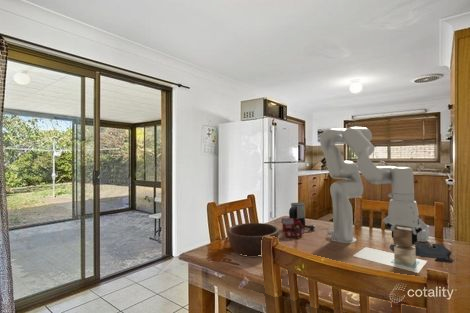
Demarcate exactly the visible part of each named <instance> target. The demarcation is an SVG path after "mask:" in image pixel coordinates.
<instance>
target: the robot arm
mask: <svg viewBox="0 0 470 313" xmlns="http://www.w3.org/2000/svg"><path fill="white" fill-rule="evenodd" d="M372 139H373V135H372V132H371V130H370V129H369V128H367V127H364V126H363V127H362V126H350V127H347V128H340V127H339V128H338V127H337V128H336V127H335V128H334V127H333V128H327V129H325V130H324V131H323V132H321V135H320V140H319V141H320V142H319V143H320V147H321V151H322V152H323V155H324V159H325V163H326V166H327V170H328V174H329V176H330V177H331V178H332V179H335V180H337V181H334V182H333V183H331V185H330V188H329V191H330V192H329V193H330V196H331V201H332V219H333V222H332V223H333V224H332V225H333V227H332V228H333V230H332V229H327V230H326V233H327V235H331V237H330V240H331V241H332V242H338V243H344V244H350V243H351V244H352V243H356V242H357V238H356V237H354V221H353V220H354V219H353V216H354V215H353V206H352V203H351V202H350V200H349V199H353V198H354V199H355V198H359V197H361V196H362V195H363V192H364V184H363V180H362V177H361V175H362V176H363V177H364V178H365V180H366V181H367V182H369V183H370V184H372V185H382V184H391V193H390V192H389V193H388V194H387V196H388V197H389V198H391V199H389V203H388V209H387V210H388V211H387V212H388V214H387V216H385V217H384V218H383V219H382V222H383V223H384V224H385V225H386V226H387V227H388V228H389V229H390V231H391V238H392V240H393V242H394V237H393V229H395V228H396V227H405V228H411V230H412V244H414V245H415V243H418V241H417V233H419V232H420V231H422V230H423V229H425V228H426V227H427V225H428V224H426V223H425V222H424V221H423V220H422V218H420V212H419V208H418V203H417V201H416V200H415V188H414V186H415V185H414V184H415V183H414V170H413V168H412V167H409V166H393V165H384V166H383V165H382V166H379V165H378V166H376V165H375V164H374V162H373V161H372V160H371V159H370V156H371V155H372V154H373V153H374V151H375V146H374V145H373V143H372V142H371V141H372ZM337 145H347V146H348V147H349V149H351V151H352V152H353V153H354V154H355V156H356V157H357V158H356V163H355V162H354V161H352V160H344V159H343V157H342V156H343V155H342V152H341V151H340V149H339V147H337ZM360 173H361V174H360ZM340 179H345V180H340ZM419 224H420V225H421V227H419V228H418V229H417V228H416V227H417V226H418V225H419Z"/></svg>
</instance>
